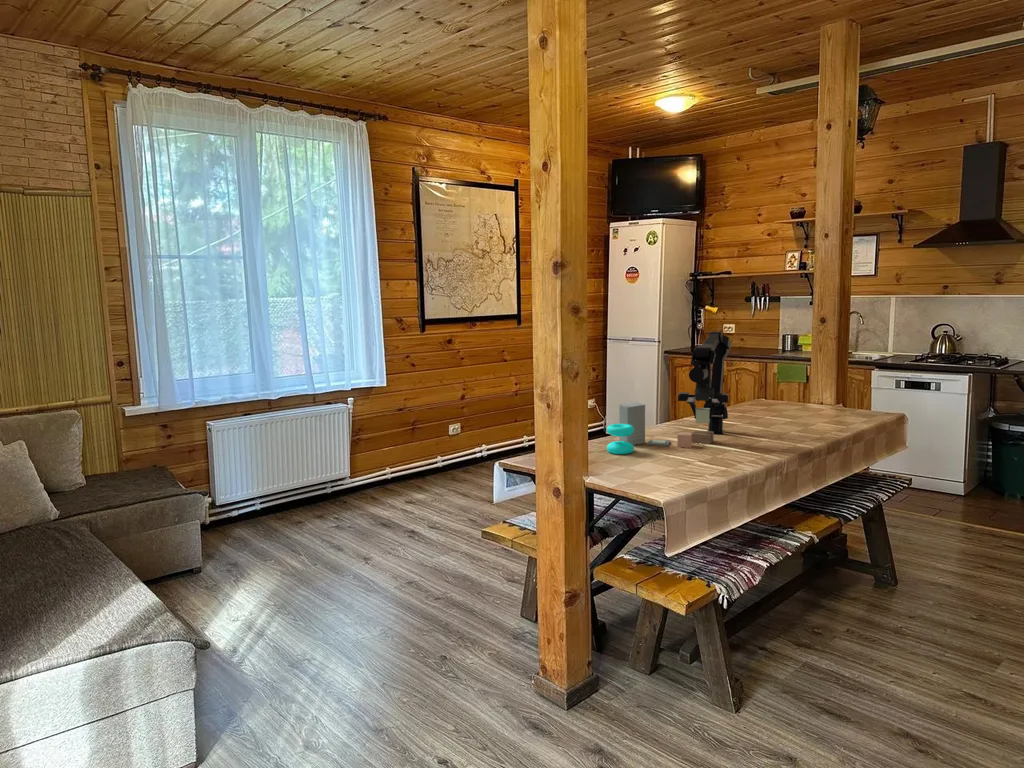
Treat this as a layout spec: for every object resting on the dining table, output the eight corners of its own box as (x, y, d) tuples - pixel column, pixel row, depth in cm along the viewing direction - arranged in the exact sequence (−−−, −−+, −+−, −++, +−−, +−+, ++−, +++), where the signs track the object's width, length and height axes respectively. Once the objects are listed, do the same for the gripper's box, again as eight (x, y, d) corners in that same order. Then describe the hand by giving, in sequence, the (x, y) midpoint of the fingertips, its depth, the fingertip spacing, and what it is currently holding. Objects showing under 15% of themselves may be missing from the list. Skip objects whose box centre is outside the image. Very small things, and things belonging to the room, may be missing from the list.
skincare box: (636, 440, 281) (636, 401, 279) (646, 444, 274) (646, 404, 272) (618, 443, 278) (618, 403, 276) (627, 446, 271) (627, 405, 269)
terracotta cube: (678, 444, 273) (678, 432, 272) (691, 445, 271) (692, 432, 271) (677, 447, 268) (677, 434, 268) (690, 448, 267) (691, 435, 266)
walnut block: (695, 440, 281) (695, 430, 281) (713, 441, 278) (713, 431, 277) (691, 443, 275) (691, 433, 274) (709, 445, 272) (709, 435, 271)
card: (649, 441, 280) (649, 439, 280) (670, 442, 277) (670, 440, 277) (646, 445, 272) (646, 443, 272) (668, 446, 270) (668, 444, 270)
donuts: (602, 426, 260) (613, 422, 268) (602, 453, 261) (613, 448, 269) (628, 429, 255) (638, 424, 263) (628, 456, 256) (637, 450, 264)
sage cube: (696, 420, 278) (696, 407, 278) (709, 420, 277) (710, 408, 276) (695, 422, 274) (695, 409, 273) (709, 423, 272) (709, 410, 271)
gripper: (676, 381, 268) (676, 422, 271) (728, 382, 263) (727, 423, 265) (679, 377, 279) (679, 416, 281) (728, 378, 273) (728, 418, 275)
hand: (702, 419), depth 275 cm, fingers closed on sage cube, 5 cm apart
